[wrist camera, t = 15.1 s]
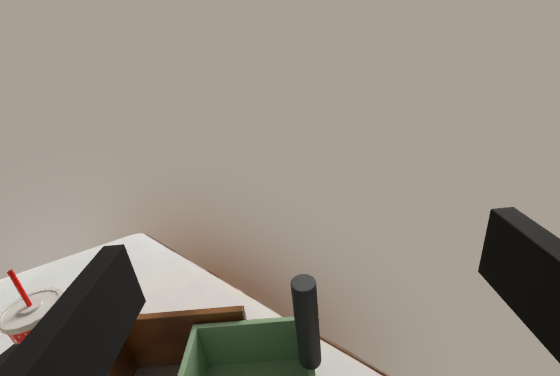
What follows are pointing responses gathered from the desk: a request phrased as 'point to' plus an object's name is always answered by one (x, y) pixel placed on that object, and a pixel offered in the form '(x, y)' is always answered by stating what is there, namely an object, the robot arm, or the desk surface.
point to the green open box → (259, 342)
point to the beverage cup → (26, 310)
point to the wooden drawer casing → (165, 337)
